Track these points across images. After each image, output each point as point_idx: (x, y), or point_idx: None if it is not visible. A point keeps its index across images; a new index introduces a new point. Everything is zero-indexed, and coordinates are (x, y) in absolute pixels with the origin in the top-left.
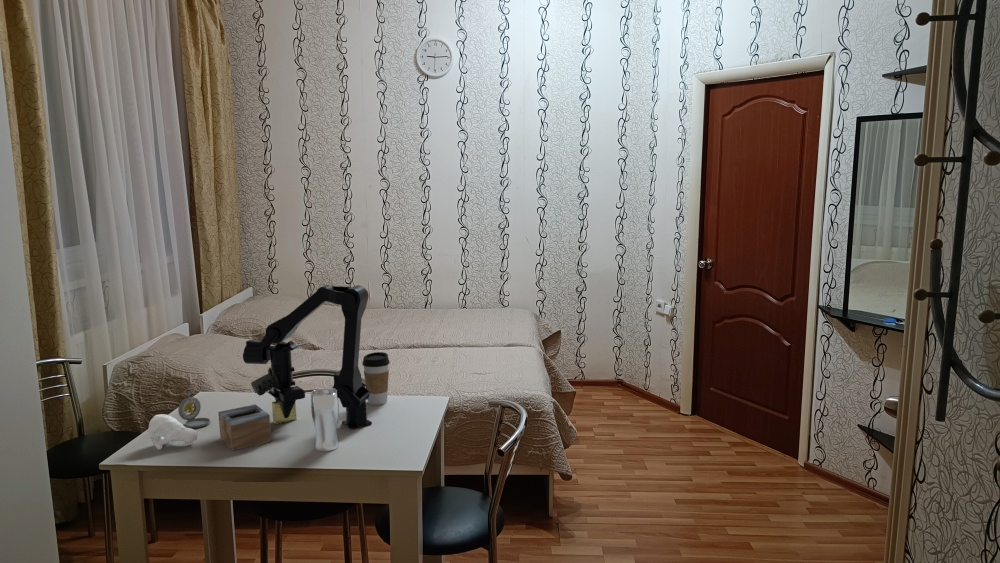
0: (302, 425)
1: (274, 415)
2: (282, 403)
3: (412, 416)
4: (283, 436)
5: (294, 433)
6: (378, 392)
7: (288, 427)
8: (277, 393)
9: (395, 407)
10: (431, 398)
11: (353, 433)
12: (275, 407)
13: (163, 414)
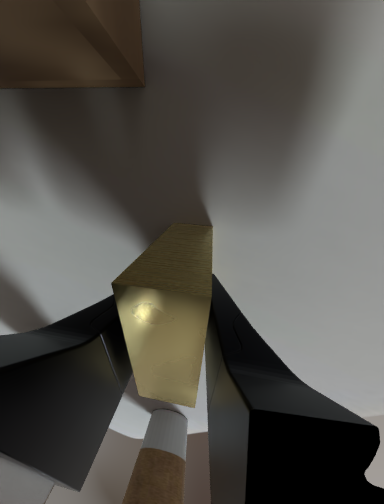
0: (106, 281)
1: (182, 236)
2: (56, 325)
3: None
4: (8, 177)
5: (34, 226)
6: (139, 453)
7: (107, 240)
8: (242, 491)
9: (124, 410)
10: (135, 435)
11: (4, 321)
12: (132, 264)
13: None
